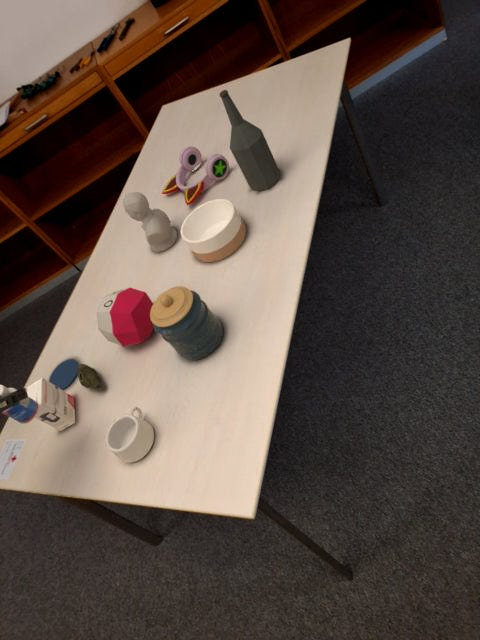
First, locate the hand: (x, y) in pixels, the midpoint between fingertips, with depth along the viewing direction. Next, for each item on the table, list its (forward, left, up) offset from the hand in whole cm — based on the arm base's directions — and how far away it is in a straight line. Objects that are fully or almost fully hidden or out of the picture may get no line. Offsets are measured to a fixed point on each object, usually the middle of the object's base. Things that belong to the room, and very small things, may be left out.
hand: (14, 395), depth 96 cm
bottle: (+66, +62, -21) cm, 93 cm away
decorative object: (+19, +24, -21) cm, 37 cm away
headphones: (+44, +80, -21) cm, 93 cm away
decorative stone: (+4, +14, -21) cm, 25 cm away
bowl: (+47, +45, -21) cm, 68 cm away
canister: (+36, +12, -21) cm, 43 cm away
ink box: (-4, +7, -21) cm, 22 cm away
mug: (+17, -8, -21) cm, 28 cm away
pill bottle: (0, -2, -5) cm, 6 cm away
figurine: (+29, +58, -21) cm, 68 cm away
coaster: (-7, +21, -21) cm, 30 cm away
